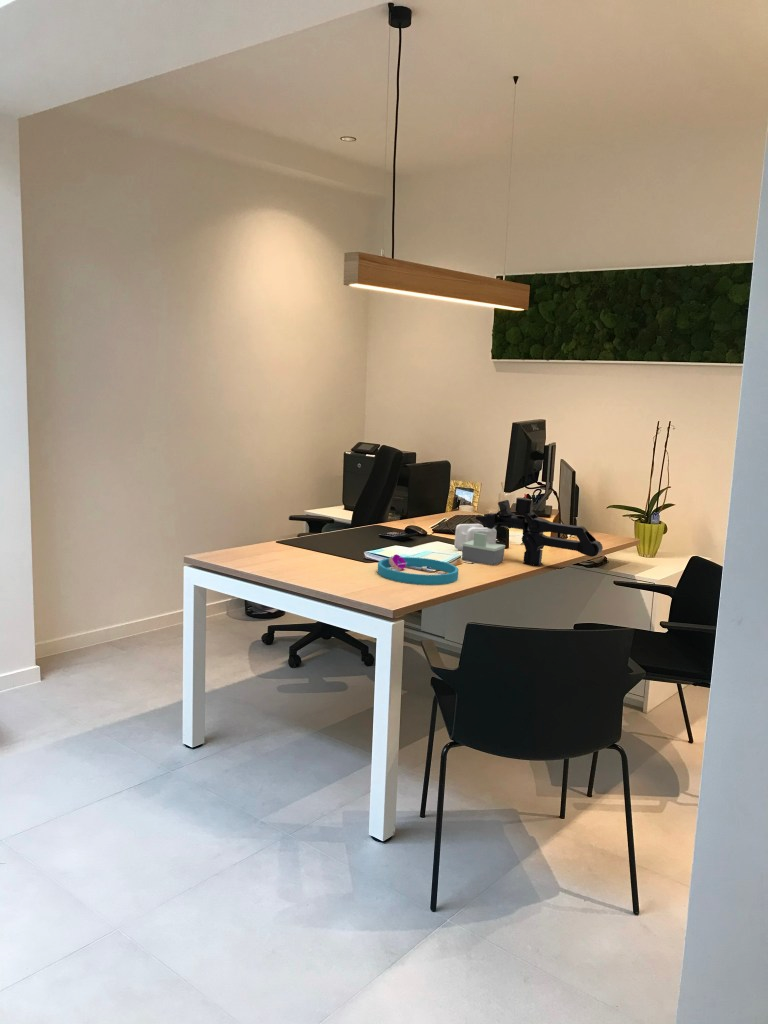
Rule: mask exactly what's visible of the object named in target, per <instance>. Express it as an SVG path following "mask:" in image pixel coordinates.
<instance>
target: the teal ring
mask: <svg viewBox="0 0 768 1024" xmlns="http://www.w3.org/2000/svg"><path fill="white" fill-rule="evenodd" d="M423 566H427V567H431V568H432V570H437V571H436V572H435V571H433V573H434V574H420V573H419V574H418V573H410V572H404V571H402V570H404V569H405V568H406V567H414V568H421V570H422V571H427V569H429V568H427V567H423ZM431 568H430V569H431ZM376 572H377V573H378V575H379V576H380V577H382V578H385V579H387V580H391V581H395V582H398V583H405V584H409V585H411V584H413V585H423V586H424V585H425V586H436V585H437V586H439V585H448V584H451V583H455V582H457V581H458V578H459V567H457V565H454V564H452V563H449V562H445V561H441V560H437V559H432V558H425V557H424V558H423V557H414V556H413V557H412V556H411V557H410V556H403V557H402V556H401V555H399V554H394V555H393V556H391V557H390V556H389V558H383V559H381V560H379V561H378V563H377V571H376Z"/></svg>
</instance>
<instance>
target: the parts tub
mask: <svg viewBox="0 0 768 1024" xmlns="http://www.w3.org/2000/svg"><path fill="white" fill-rule="evenodd" d="M461 555H462V556H461V561H464V562H465V561H466V562H471V563H475V564H476V563H477V564H482V565H486V566H496V565H499V564H501V563H503V562H504V556H505V548H503V549H500V550H497V551H490V550H484V549H478V548H473V547H467V546H463V550H462V554H461Z"/></svg>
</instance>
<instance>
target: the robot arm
mask: <svg viewBox="0 0 768 1024" xmlns="http://www.w3.org/2000/svg"><path fill="white" fill-rule="evenodd" d="M533 504H534V500H533V499H529V498H528V497H516V501H515V509H514V511H515V513H516V514H515V513H514V512H512V509H511V504H510V501H509V499H505V500H502V501H501V500H500V501H498V502H497V505H498V507H499V511H497V512H495V513H493V512H490V513H489V512H488V513H484V514H483V515H477V516H475V520H476V521H478V522H479V523H480V524H481V525H483V526H485V528H489V529H493V528H495V529H496V528H497V527H498V528H502V527H504V528H507V529H514V530H515V529H516V530H522V536H521V541H522V544H523V545H524V549H525V551H524V553H523V562H522V564H524V565H529V566H534V567H535V566H536V567H539V566H541V565H543V562H542V559H543V551H544V550H543V549H544V547H549V548H550V547H551V548H557V549H561V550H562V549H563V550H570V551H575V552H578V553H580V554H582V555H585V556H587V557H593V558H594V557H595V556H598V555H599V554H601V553H602V551H603V545H602V543H601V541H599V540H597V539H596V538H595V537H594V536H593V535H592V534H591V532H589V531H588V530H587V527H585V526H582V525H580V526H579V525H572V524H565V523H560V522H559V523H558V522H552V521H550V520H548V519H546V518H543V517H539V516H538V514H536V513H535V512H534V511H533V508H532V507H533ZM544 533H554V534H555V533H556V534H561V535H568V536H569V535H570V536H574V537H575V536H576V538H577V539H578V540H574V539H569V538H568V539H567V538H561V537H555V536H548V535H546V534H544Z"/></svg>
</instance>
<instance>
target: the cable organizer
mask: <svg viewBox="0 0 768 1024" xmlns="http://www.w3.org/2000/svg"><path fill="white" fill-rule="evenodd" d="M454 533H455V534H454V544H453V545H454V548H455V549H456V550H458V549H459V550H458V551H460V550H461V551H463V546H462V545H463V543H465V542H469V541H472V540H474V533H481V534H487V542H489V543H495V544H497V528H496V527H495V528H493V529H489V528H487V527H484V524H482V523H459V524H458V525H456V527H455V532H454Z"/></svg>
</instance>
